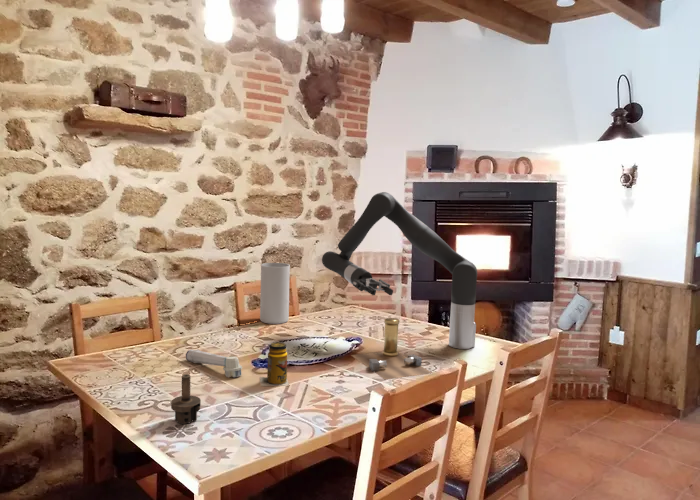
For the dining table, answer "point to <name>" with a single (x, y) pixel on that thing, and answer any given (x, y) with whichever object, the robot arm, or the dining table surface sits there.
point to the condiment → (276, 366)
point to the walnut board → (392, 365)
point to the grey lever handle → (216, 361)
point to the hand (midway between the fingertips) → (383, 293)
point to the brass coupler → (391, 337)
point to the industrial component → (186, 403)
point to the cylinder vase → (274, 293)
